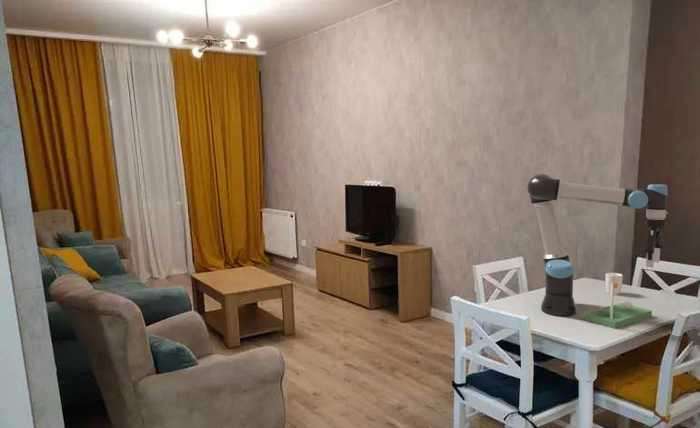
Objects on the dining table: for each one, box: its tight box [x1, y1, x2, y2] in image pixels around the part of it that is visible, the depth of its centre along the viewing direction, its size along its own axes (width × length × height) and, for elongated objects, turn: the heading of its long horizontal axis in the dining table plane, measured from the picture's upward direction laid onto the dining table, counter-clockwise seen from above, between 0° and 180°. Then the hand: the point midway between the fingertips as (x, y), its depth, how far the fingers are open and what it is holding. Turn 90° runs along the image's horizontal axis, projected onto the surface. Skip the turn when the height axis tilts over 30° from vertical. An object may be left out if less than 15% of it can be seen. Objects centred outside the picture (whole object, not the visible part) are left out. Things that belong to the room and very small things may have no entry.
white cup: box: [605, 272, 624, 296], centre depth 248 cm, size 8×8×10 cm
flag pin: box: [609, 282, 617, 321], centre depth 200 cm, size 4×1×16 cm, turn 120°
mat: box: [583, 302, 653, 329], centre depth 210 cm, size 28×14×2 cm, turn 120°
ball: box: [621, 300, 633, 310], centre depth 213 cm, size 4×4×4 cm
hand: (652, 264), depth 216 cm, fingers open, 13 cm apart
